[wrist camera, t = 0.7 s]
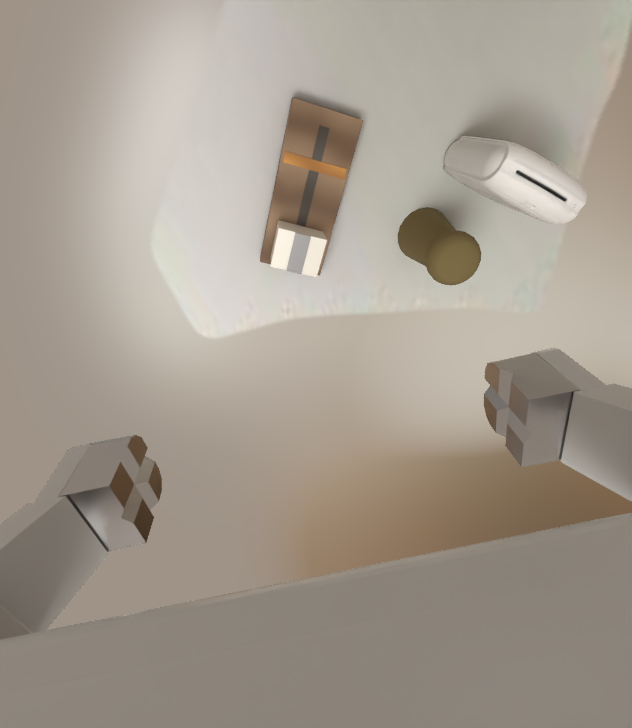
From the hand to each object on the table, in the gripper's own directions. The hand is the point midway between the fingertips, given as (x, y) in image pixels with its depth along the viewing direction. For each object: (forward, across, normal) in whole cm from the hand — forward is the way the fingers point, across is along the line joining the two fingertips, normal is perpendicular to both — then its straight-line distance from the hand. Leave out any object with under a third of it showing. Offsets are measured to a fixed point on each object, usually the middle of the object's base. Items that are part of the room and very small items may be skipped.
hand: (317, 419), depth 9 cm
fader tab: (+37, 0, +5) cm, 38 cm away
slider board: (+40, -3, +1) cm, 40 cm away
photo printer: (+40, -22, +2) cm, 46 cm away
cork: (+40, -15, +8) cm, 44 cm away
